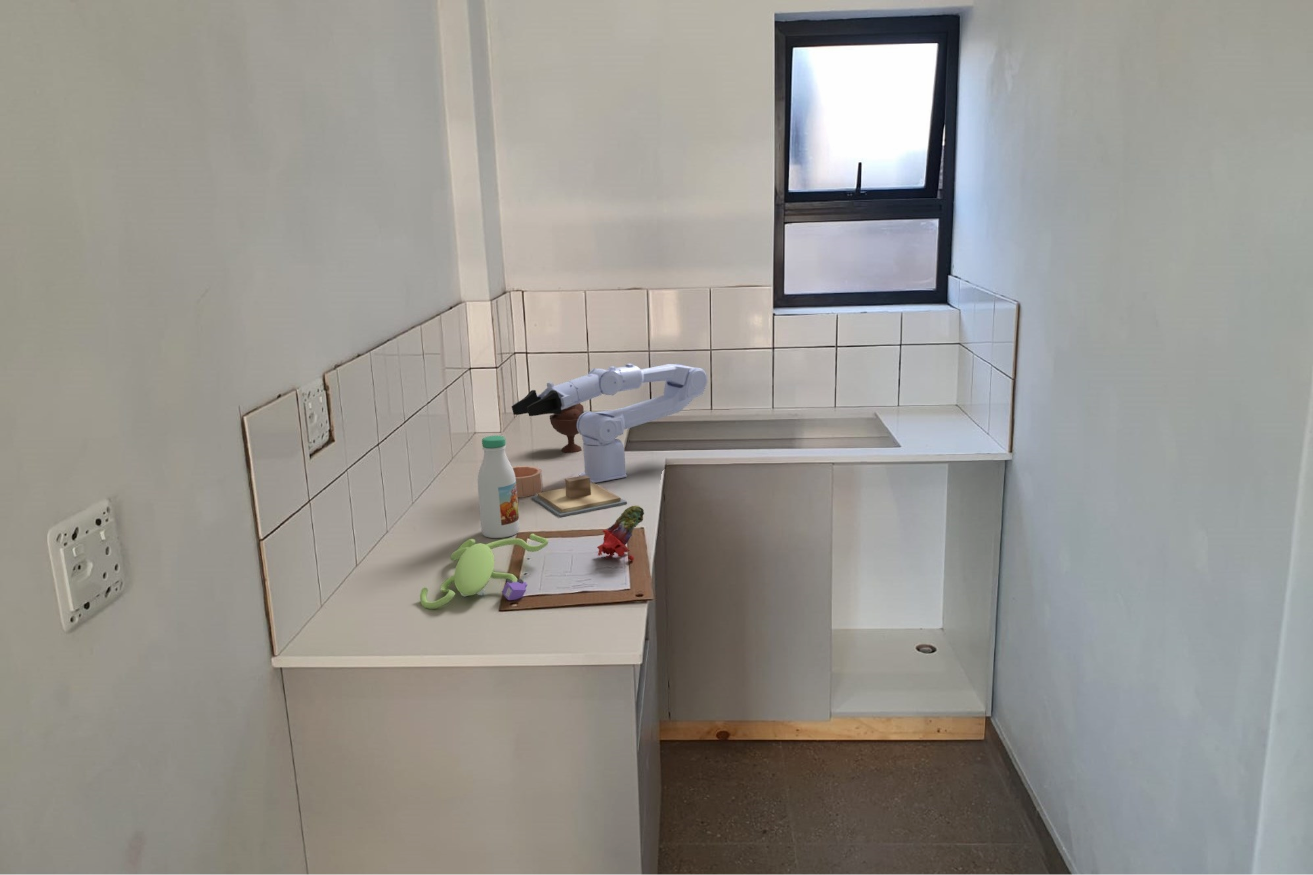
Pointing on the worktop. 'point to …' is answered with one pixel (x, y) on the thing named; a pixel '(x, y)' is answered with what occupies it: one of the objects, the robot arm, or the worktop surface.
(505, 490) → the milk bottle
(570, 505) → the cover board
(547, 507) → the shallow square tray
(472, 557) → the figurine
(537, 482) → the terracotta bowl
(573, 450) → the ice cream bowl
